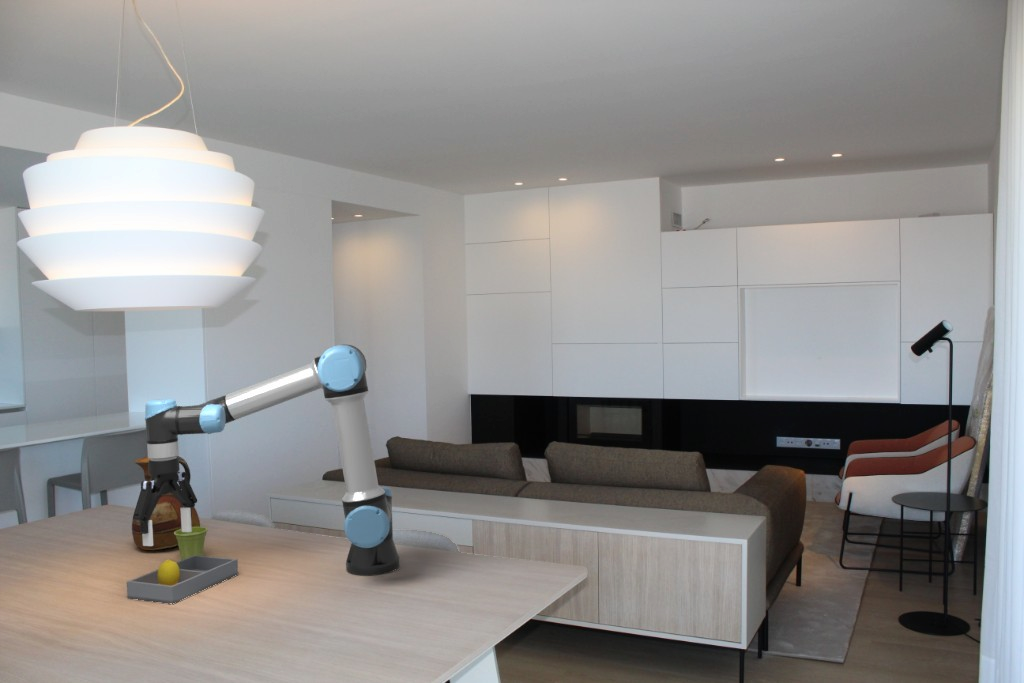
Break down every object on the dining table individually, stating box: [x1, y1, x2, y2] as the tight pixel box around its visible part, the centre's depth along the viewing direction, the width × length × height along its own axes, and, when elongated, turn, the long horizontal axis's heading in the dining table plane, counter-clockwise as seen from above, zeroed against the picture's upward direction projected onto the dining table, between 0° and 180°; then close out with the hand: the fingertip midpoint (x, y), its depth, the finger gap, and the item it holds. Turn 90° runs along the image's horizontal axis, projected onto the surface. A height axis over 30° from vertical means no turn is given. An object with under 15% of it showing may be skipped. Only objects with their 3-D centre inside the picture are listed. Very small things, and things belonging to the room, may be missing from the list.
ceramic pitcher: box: [131, 455, 201, 551], centre depth 262 cm, size 20×20×30 cm
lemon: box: [157, 559, 180, 586], centre depth 216 cm, size 6×6×8 cm
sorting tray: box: [126, 555, 239, 605], centre depth 221 cm, size 15×25×4 cm, turn 159°
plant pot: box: [174, 526, 208, 561], centre depth 247 cm, size 9×9×9 cm
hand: (168, 538), depth 215 cm, fingers open, 13 cm apart
